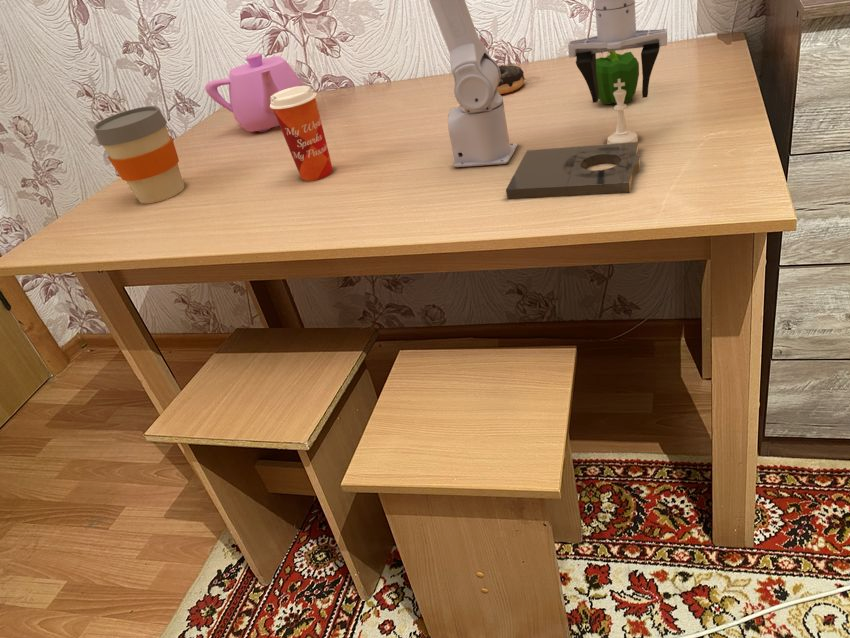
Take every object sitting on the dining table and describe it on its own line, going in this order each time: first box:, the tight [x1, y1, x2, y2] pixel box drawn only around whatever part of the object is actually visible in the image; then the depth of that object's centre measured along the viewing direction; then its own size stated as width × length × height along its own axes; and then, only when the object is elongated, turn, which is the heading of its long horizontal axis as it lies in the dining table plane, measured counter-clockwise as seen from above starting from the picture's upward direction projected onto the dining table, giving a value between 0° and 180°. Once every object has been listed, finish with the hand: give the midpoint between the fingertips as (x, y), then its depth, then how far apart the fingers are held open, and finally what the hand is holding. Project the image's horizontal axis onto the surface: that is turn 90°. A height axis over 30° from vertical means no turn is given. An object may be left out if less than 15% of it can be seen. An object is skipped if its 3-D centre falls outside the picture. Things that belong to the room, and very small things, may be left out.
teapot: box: [204, 52, 304, 133], centre depth 155 cm, size 23×21×15 cm
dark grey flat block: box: [505, 141, 641, 200], centre depth 106 cm, size 19×15×2 cm
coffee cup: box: [270, 85, 334, 182], centre depth 124 cm, size 8×8×15 cm
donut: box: [496, 64, 526, 95], centre depth 149 cm, size 11×12×4 cm
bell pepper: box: [596, 51, 640, 105], centre depth 127 cm, size 8×8×10 cm
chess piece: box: [606, 79, 639, 144], centre depth 111 cm, size 5×5×10 cm
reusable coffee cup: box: [92, 105, 185, 204], centre depth 132 cm, size 13×13×15 cm
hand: (620, 98), depth 110 cm, fingers open, 7 cm apart
